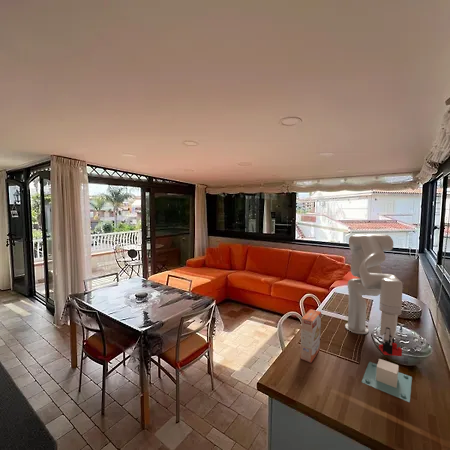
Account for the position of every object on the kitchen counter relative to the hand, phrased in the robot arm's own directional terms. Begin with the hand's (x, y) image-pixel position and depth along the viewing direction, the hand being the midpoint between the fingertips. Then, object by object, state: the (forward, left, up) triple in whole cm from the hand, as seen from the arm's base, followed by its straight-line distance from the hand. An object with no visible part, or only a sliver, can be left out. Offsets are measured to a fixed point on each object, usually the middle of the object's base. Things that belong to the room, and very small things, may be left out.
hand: (388, 349), depth 99 cm
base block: (0, 0, -13) cm, 13 cm away
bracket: (0, +1, -1) cm, 1 cm away
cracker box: (+2, -32, -15) cm, 35 cm away
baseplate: (0, 0, -15) cm, 15 cm away
